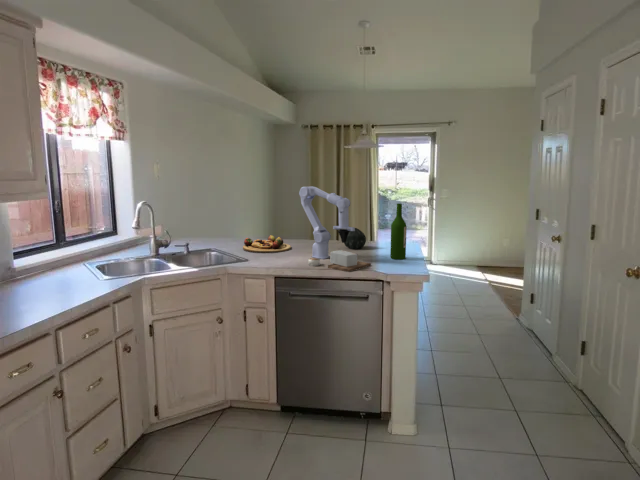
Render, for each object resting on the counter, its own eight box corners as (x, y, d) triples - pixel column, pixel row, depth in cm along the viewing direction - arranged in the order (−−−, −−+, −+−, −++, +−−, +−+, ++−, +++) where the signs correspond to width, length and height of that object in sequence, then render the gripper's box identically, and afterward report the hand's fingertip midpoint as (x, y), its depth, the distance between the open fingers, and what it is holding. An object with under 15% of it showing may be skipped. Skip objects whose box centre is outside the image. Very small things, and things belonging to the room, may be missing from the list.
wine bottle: (405, 260, 264) (407, 204, 259) (390, 259, 266) (391, 204, 261) (405, 257, 273) (407, 203, 267) (390, 256, 274) (391, 202, 269)
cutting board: (328, 268, 244) (328, 265, 244) (350, 262, 259) (350, 259, 258) (348, 271, 235) (348, 269, 235) (370, 265, 250) (370, 262, 249)
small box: (329, 262, 249) (346, 267, 240) (330, 251, 248) (347, 255, 239) (340, 261, 255) (357, 265, 245) (340, 249, 254) (357, 253, 244)
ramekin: (305, 265, 251) (305, 258, 251) (313, 263, 256) (313, 257, 256) (314, 266, 247) (314, 260, 247) (322, 264, 252) (322, 258, 251)
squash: (356, 237, 314) (347, 222, 306) (373, 240, 304) (363, 225, 295) (345, 252, 309) (335, 238, 300) (361, 256, 298) (352, 241, 290)
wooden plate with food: (234, 252, 292) (233, 239, 291) (255, 243, 322) (255, 232, 320) (280, 256, 283) (280, 243, 281) (297, 246, 313) (297, 235, 311)
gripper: (329, 219, 263) (329, 242, 265) (349, 220, 253) (349, 244, 255) (337, 218, 268) (337, 240, 270) (356, 219, 258) (357, 242, 260)
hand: (343, 242), depth 263 cm, fingers closed
